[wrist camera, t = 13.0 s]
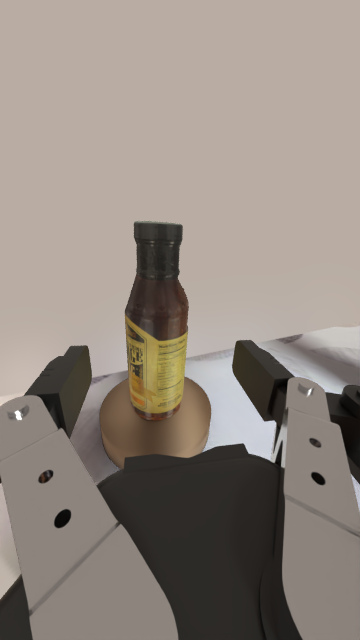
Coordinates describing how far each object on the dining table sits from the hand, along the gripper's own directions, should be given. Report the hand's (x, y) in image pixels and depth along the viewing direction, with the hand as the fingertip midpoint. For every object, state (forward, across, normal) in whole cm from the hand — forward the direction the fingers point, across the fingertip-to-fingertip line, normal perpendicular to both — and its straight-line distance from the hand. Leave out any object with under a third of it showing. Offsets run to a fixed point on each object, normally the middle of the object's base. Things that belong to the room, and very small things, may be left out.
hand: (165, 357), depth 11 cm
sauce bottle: (+10, 0, +13) cm, 16 cm away
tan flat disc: (+10, 0, +16) cm, 18 cm away
